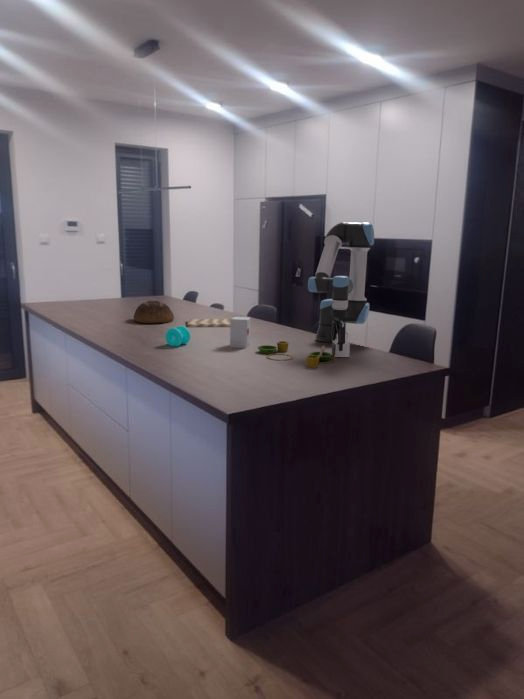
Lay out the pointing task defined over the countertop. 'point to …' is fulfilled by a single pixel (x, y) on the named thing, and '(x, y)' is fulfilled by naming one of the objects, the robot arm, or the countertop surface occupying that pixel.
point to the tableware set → (283, 346)
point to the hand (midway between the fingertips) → (337, 355)
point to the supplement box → (240, 332)
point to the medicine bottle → (345, 346)
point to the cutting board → (208, 322)
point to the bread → (153, 313)
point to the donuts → (177, 336)
